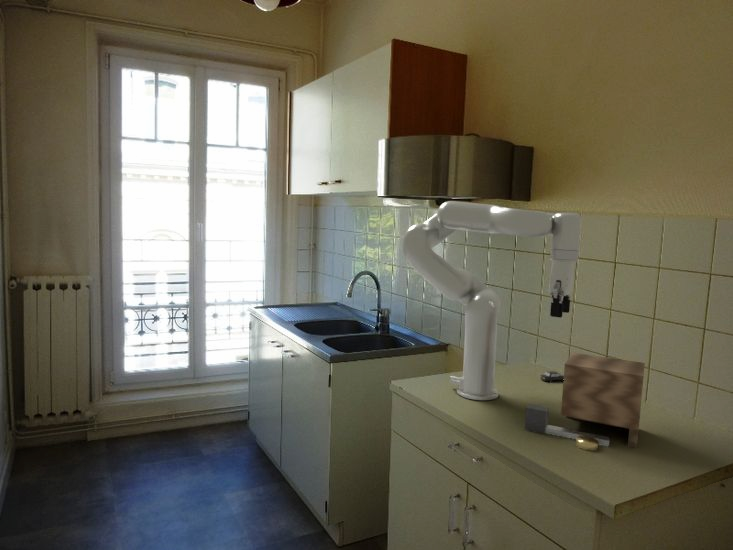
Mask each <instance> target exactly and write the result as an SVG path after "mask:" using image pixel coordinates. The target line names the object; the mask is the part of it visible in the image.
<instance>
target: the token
mask: <svg viewBox="0 0 733 550" xmlns="http://www.w3.org/2000/svg"><path fill="white" fill-rule="evenodd" d="M575 446H576V447H577V446H578V447H580V448H582V449H581V450H583V449H586V450H585V451H588V450H594V451H597V450H598V449H597V448H599V447H598V446H599V445H598V441H597V440H596V439H594V438H592V437H588V436H578V437H576V440H575ZM578 447H577V448H578ZM580 448H579V449H580ZM596 449H597V450H596Z"/></svg>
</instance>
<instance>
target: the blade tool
mask: <svg viewBox="0 0 733 550" xmlns="http://www.w3.org/2000/svg"><path fill="white" fill-rule="evenodd" d="M548 419H549V407H548V406H544V405H539V404H535V403H534V404H533V403H528V405H527V406H526V408H525V421H524V430H525V429H527V430H526V431H528V430H530V432H533V431H535V432H534V433H537V432H539V433H538V434H542V433H544V434H543V435H545V433H547V434H546V435H550V434H552V435H551V436H555V435H557V436H556V437H559V436H563V437H562V438H564V437H568V438H567V439H569V438H572V439H571V440H574V439H576V437H578V436H588V437H592V438H594V439H596V440H597V441H598V444H599V445H598V446H602V445H603V446H602V447H606V446H610V442H611V441H610V440H611V439H610V438H611V437H610V436H604V435H599V434H594V433H590V432H584V431H580V430H575V429H571V428H565V427H560V426H556V425H551V424H548V421H549V420H548Z"/></svg>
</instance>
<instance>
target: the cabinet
mask: <svg viewBox="0 0 733 550" xmlns="http://www.w3.org/2000/svg"><path fill="white" fill-rule="evenodd" d="M645 365H646V363H645V362H640V361H634V360H628V359H620V358H613V357H612V358H611V357H606V356H600V355H599V356H598V355H591V354H585V353H579V352H571V354H570V355H569V357H568V358H567V360H566V361H565V363H564V371H563V375H564V381H563V380H562V381H563V383H562V395H561V396H562V397H561V409H560V416H563V417H566V418H568V417H569V419H574V420H579V421H585V422H590V423H596V424H599V425H604V424H605V426H609V427H615V428H618V429H619V428H620V429H625V430H626V429H627V430H628V431H629V432H628V439H627V446H628V447H630V446H632V447H631V448H635V447H636V448H637V449H638V439H639V428H640V420H641V419H640V418H641V406H642V399H643V398H642V397H643V388H644V387H643V385H644V377H645V375H644V374H645Z"/></svg>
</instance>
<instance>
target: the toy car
mask: <svg viewBox="0 0 733 550" xmlns="http://www.w3.org/2000/svg"><path fill="white" fill-rule="evenodd" d="M534 361H535V362H536V363H538V361H537V360H536V359H534ZM538 364H539V363H538ZM539 366H540V368H542V366H541V365H539ZM539 378H540V380H542V381H544V382H548V381H552V382H554V381H553V380H558V381H561V380H562V381H563V379H564V374H561V373H559V372H558V371H554V370H547V371H545V372H544V373H543V374H540V377H539Z"/></svg>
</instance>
